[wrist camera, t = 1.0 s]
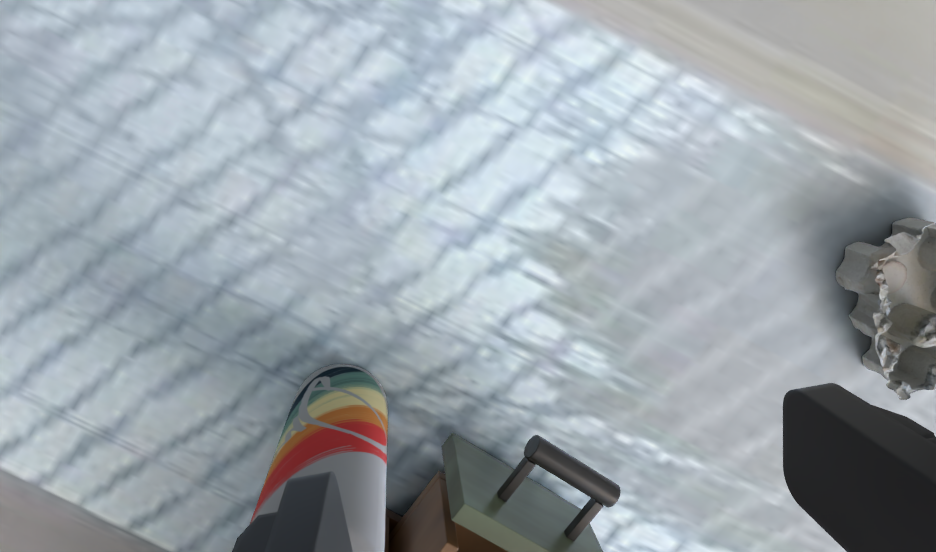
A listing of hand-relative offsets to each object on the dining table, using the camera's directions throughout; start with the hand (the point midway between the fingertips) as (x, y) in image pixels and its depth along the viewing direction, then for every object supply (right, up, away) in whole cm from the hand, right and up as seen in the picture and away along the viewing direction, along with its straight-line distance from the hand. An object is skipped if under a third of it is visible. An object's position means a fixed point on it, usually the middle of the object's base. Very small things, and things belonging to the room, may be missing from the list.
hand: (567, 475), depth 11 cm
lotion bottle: (-10, -4, +27) cm, 29 cm away
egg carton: (+26, +2, +30) cm, 40 cm away
